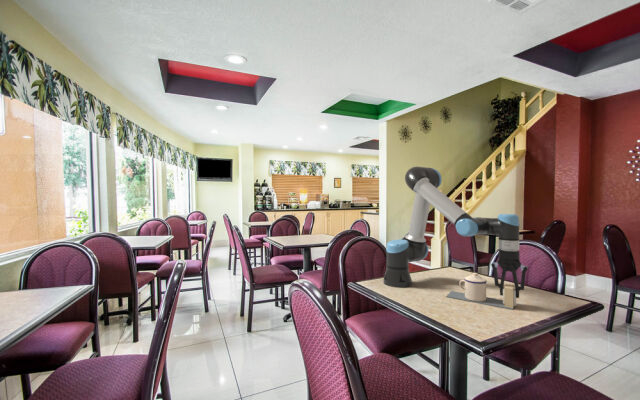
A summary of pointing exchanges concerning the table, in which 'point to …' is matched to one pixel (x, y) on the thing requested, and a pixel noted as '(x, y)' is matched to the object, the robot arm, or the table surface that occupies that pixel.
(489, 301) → the runner
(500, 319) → the table surface
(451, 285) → the table surface
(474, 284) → the teacup with lid
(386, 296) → the table surface
